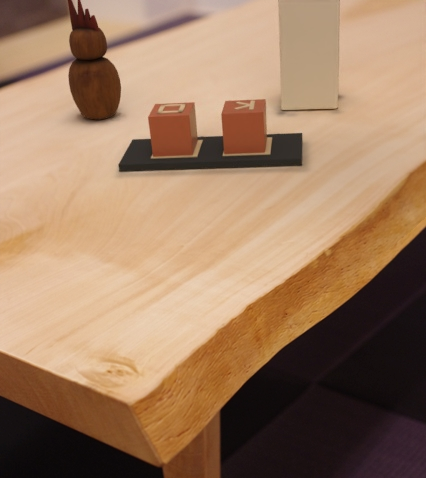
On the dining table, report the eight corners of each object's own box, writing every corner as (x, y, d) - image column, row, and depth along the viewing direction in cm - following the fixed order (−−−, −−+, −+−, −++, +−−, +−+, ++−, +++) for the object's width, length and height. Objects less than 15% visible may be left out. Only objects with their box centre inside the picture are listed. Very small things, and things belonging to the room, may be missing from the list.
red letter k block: (267, 138, 84) (265, 97, 82) (265, 152, 81) (263, 110, 78) (227, 139, 85) (225, 99, 82) (224, 154, 81) (221, 112, 79)
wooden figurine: (68, 116, 100) (46, -3, 92) (104, 105, 103) (85, -11, 95) (95, 126, 96) (74, 2, 87) (131, 115, 98) (114, -7, 90)
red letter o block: (198, 141, 85) (194, 101, 83) (192, 155, 82) (189, 113, 79) (159, 142, 86) (154, 102, 84) (152, 156, 82) (147, 115, 80)
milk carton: (337, 109, 94) (339, -58, 83) (281, 111, 95) (276, -54, 85) (338, 93, 100) (340, -66, 89) (285, 94, 101) (281, -62, 91)
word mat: (302, 139, 86) (302, 131, 85) (301, 165, 79) (301, 157, 79) (133, 145, 88) (132, 138, 88) (119, 171, 82) (117, 163, 81)
